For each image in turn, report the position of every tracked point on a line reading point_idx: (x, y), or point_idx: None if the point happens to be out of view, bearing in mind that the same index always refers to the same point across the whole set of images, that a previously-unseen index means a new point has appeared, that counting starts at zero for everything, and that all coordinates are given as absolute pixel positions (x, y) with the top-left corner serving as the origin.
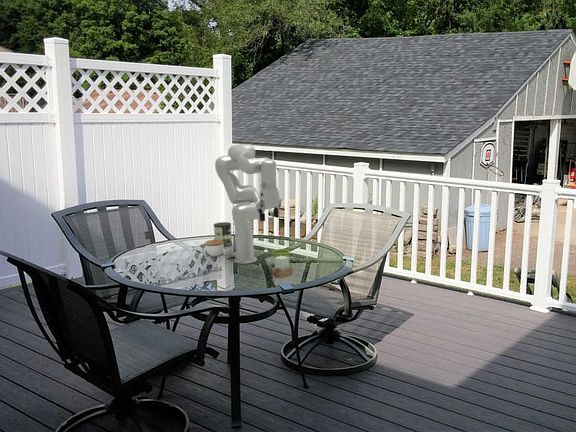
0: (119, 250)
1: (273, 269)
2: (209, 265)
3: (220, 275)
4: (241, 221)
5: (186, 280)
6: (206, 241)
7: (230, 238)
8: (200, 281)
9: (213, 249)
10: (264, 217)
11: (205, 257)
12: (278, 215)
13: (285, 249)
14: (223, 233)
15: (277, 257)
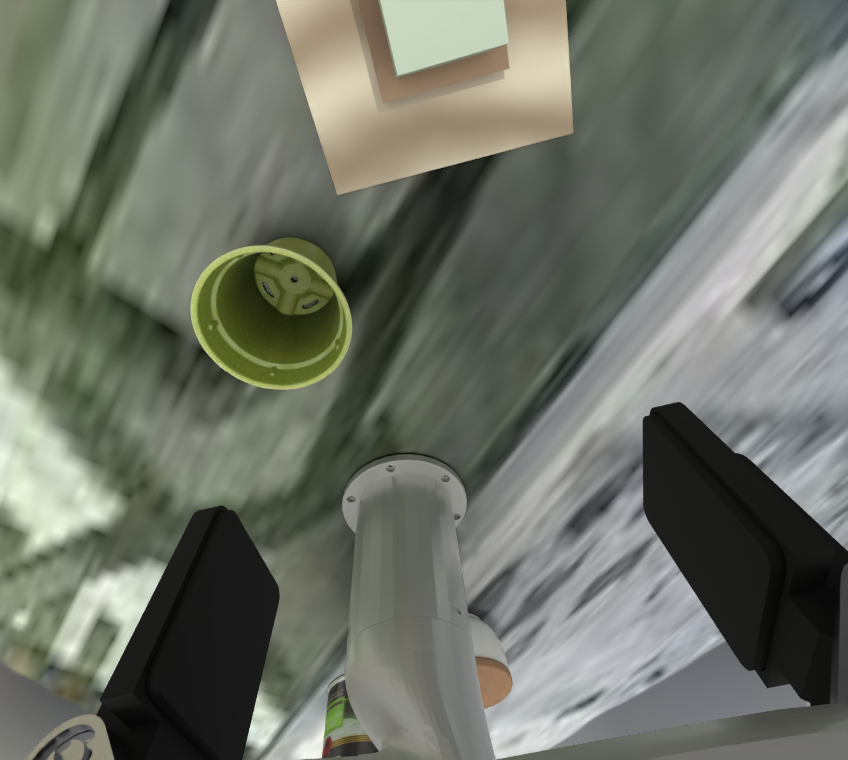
0: None
1: (503, 46)
2: (576, 527)
3: (663, 363)
4: (472, 743)
5: (827, 391)
6: (490, 706)
7: (339, 719)
8: (808, 333)
9: (490, 641)
10: (721, 457)
11: (509, 618)
12: (190, 541)
13: (209, 352)
14: (374, 750)
15: (474, 29)
